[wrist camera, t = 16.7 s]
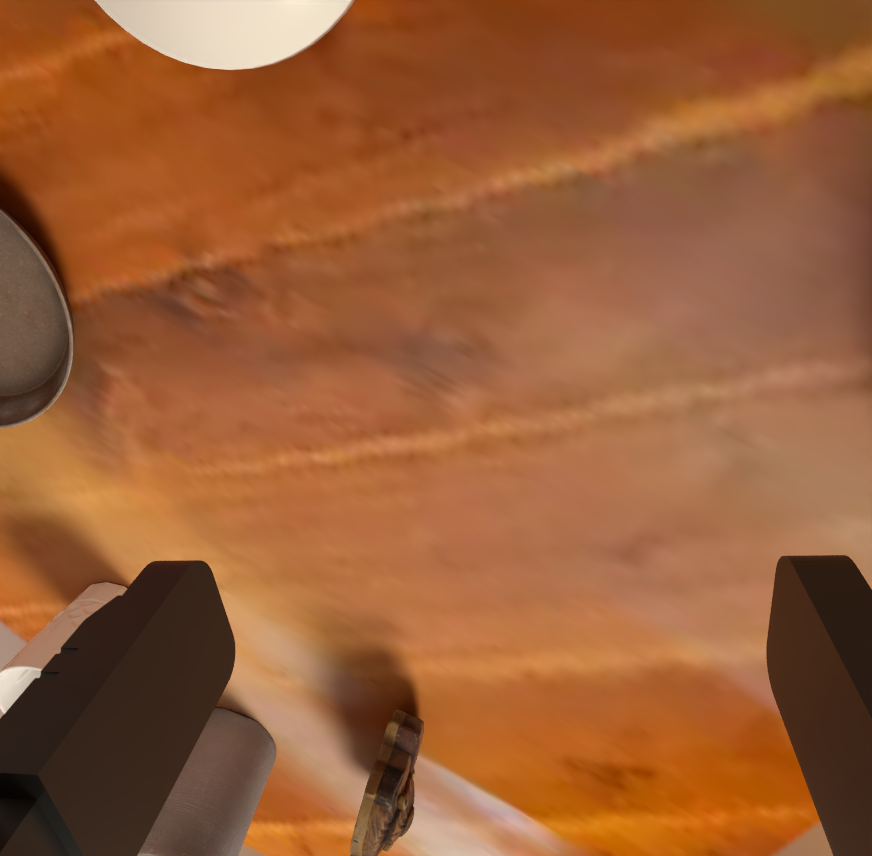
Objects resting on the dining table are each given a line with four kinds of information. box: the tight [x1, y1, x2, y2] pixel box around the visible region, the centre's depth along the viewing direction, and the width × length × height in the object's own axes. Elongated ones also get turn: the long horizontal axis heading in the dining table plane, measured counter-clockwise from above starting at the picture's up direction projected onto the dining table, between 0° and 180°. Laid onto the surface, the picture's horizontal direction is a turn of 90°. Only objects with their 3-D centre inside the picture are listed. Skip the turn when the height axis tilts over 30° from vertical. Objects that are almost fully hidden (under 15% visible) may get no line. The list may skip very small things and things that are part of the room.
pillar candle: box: [137, 708, 276, 856], centre depth 58 cm, size 10×10×15 cm
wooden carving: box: [350, 709, 424, 856], centre depth 57 cm, size 16×5×10 cm, turn 174°
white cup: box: [0, 582, 128, 714], centre depth 54 cm, size 8×8×10 cm
